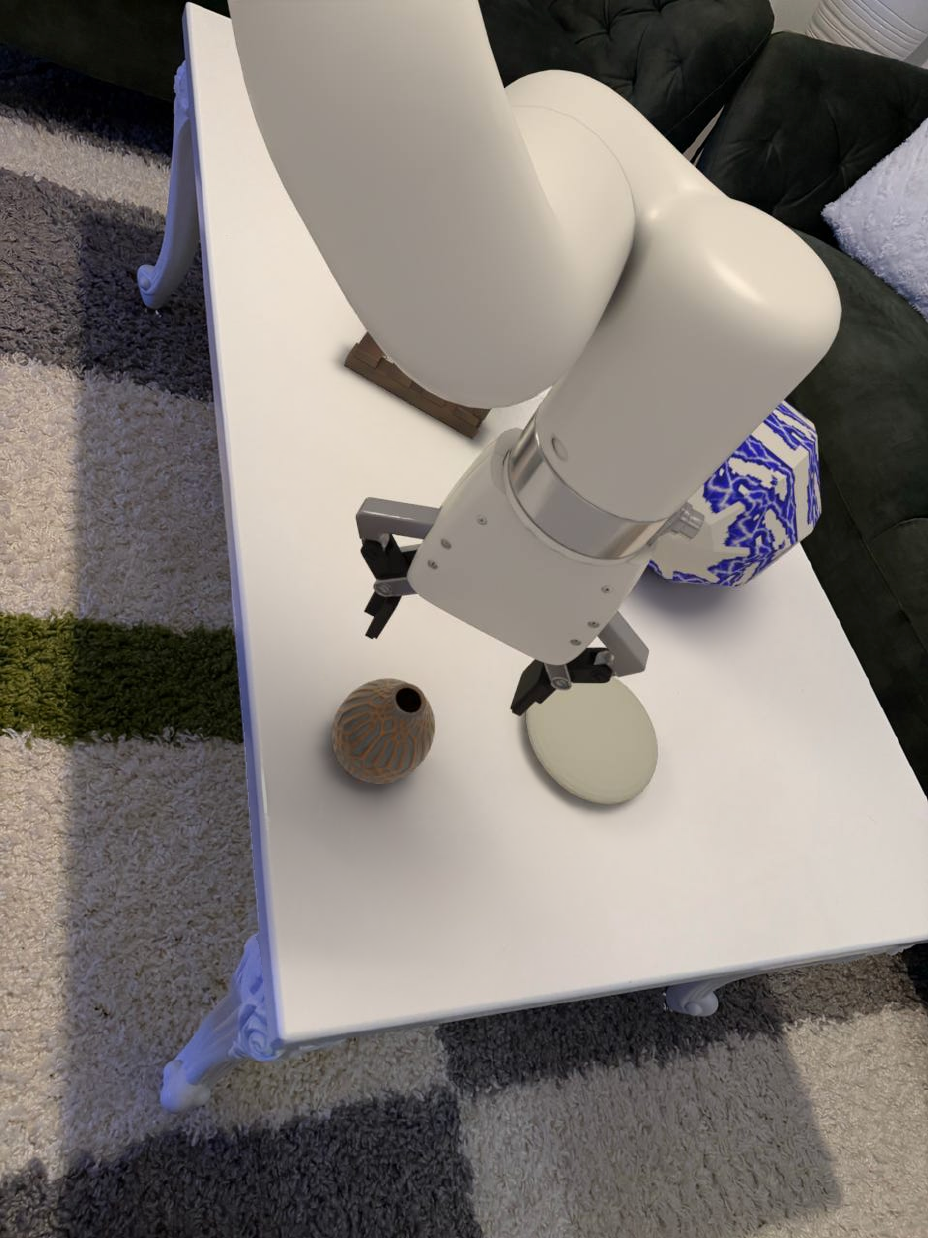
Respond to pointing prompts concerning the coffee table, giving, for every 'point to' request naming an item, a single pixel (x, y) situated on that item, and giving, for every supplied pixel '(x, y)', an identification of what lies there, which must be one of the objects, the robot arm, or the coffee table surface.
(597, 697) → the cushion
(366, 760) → the vase
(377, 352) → the rack
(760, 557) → the ornament
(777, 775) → the coffee table surface
